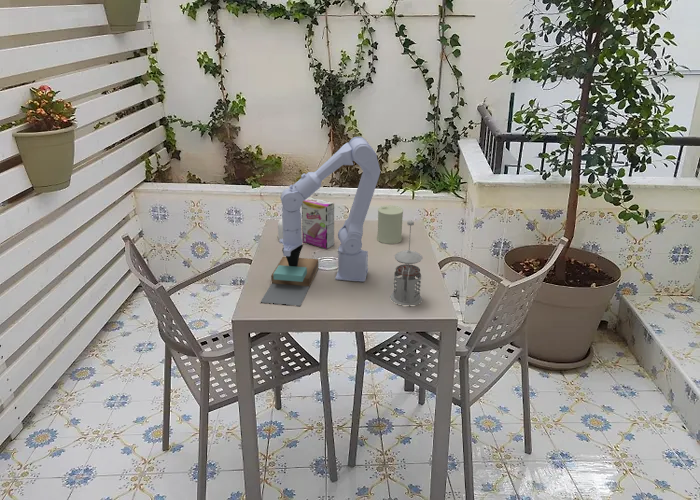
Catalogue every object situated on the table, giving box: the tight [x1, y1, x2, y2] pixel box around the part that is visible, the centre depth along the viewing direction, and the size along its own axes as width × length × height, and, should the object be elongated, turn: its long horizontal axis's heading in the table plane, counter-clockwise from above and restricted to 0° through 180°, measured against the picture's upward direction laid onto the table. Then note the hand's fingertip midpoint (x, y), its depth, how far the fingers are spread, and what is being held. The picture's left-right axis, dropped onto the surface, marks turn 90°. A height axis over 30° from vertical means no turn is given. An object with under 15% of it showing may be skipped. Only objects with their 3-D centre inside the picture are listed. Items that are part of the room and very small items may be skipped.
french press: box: [390, 219, 424, 306], centre depth 164 cm, size 10×12×25 cm
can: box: [376, 205, 404, 245], centre depth 208 cm, size 9×9×12 cm
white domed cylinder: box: [277, 218, 283, 241], centre depth 209 cm, size 5×5×8 cm
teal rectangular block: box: [273, 265, 307, 282], centre depth 175 cm, size 9×6×2 cm, turn 81°
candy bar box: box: [301, 196, 335, 249], centre depth 203 cm, size 11×5×16 cm, turn 58°
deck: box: [270, 256, 320, 288], centre depth 182 cm, size 12×14×3 cm
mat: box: [260, 282, 310, 307], centre depth 171 cm, size 12×12×1 cm
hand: (293, 267), depth 179 cm, fingers closed
